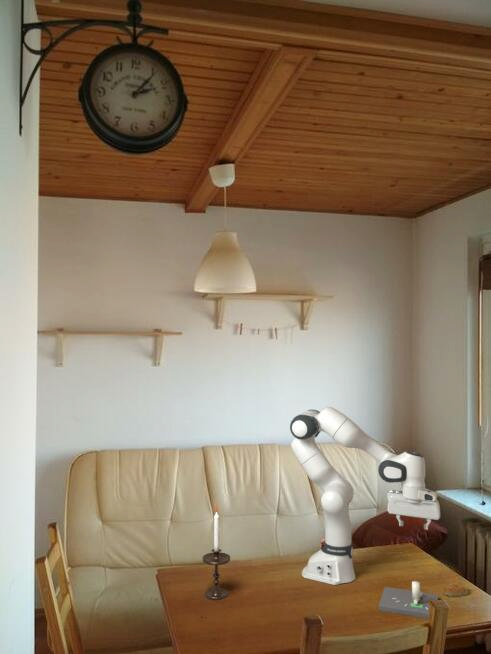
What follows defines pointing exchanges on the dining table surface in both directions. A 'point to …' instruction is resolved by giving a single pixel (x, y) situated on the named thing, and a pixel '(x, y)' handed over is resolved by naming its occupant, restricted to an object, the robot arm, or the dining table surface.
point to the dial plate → (405, 602)
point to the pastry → (455, 590)
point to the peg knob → (416, 591)
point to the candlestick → (216, 564)
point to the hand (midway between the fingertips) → (413, 527)
